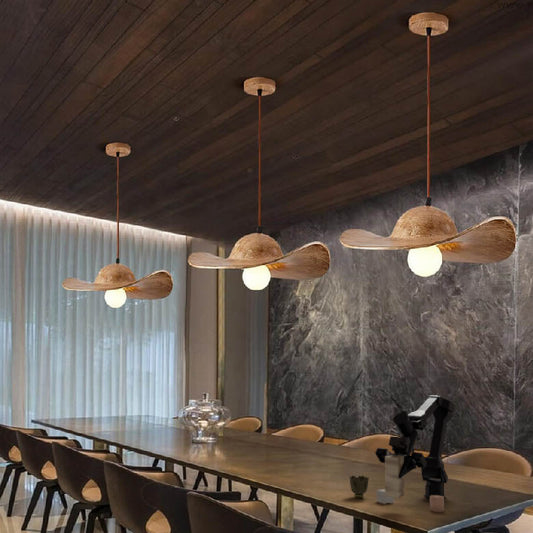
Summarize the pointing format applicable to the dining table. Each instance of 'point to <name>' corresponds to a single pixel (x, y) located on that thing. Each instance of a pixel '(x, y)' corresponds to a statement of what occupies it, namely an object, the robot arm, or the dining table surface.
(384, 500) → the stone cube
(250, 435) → the dining table surface
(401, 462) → the birch block
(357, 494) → the cup
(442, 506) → the pink cube
